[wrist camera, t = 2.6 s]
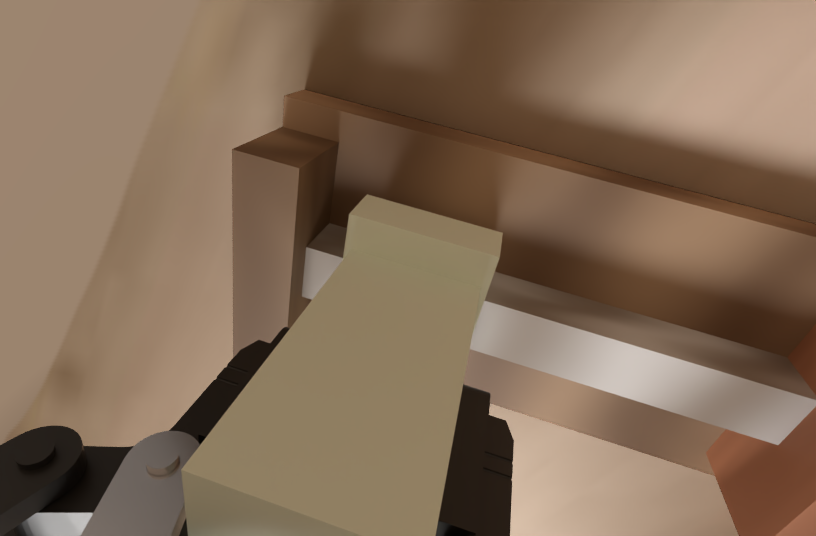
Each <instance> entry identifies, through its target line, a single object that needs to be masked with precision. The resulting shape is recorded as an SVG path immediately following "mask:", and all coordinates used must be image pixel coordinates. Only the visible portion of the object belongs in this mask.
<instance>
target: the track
mask: <svg viewBox="0 0 816 536" xmlns="http://www.w3.org/2000/svg"><path fill="white" fill-rule="evenodd" d="M367 194H368V195H371V196H375V197H378V198H382V199H385V200H389V201H392V202H396V203H399V204H403V205H406V206H410V207H413V208H417V209H421V210H424V211H428V212H431V213H435V214H438V215H442V216H445V217H449V218H452V219H456V220H459V221H463V222H466V223H470V224H473V225H477V226H480V227H484V228H487V229H491V230H495V231H498V232H502V233H503V236H502V244H501V252H500V258H499V261H498V264H497V267H496V269H495V272H494V275H493V278H492V281H491V284H490V286H489V289H488V292H487V295H486V298H485V301H484V303H483V306H482V309H481V312H480V315H479V318H478V320H477V323H476V326H475V329H474V332H473V335H472V339H471V344H470V350H469V355H468V361H467V366H466V372H465V377H464V383H463V384H464V385H467V386H470V387H473V388H477V389H480V390H483V391H486V392H489V393H490V403H491V404H494V405H497V406H500V407H503V408H506V409H510V410H513V411H516V412H519V413H522V414H525V415H528V416H531V417H534V418H537V419H540V420H544V421H547V422H550V423H553V424H556V425H559V426H562V427H565V428H568V429H571V430H574V431H578V432H581V433H584V434H587V435H590V436H593V437H596V438H599V439H602V440H605V441H608V442H612V443H615V444H618V445H621V446H624V447H627V448H630V449H633V450H636V451H639V452H642V453H646V454H649V455H652V456H655V457H658V458H661V459H664V460H667V461H670V462H673V463H677V464H680V465H683V466H686V467H689V468H692V469H695V470H698V471H701V472H704V473H707V474H711V475H714V476H715V477H716V480H717V482H718V484H719V487H720V489H721V492H722V494H723V497H724V499H725V502H726V504H727V507H728V509H729V512H730V514H731V517H732V519H733V522H734V524H735V527H736V529H737V532H738V534H739V536H816V224H813V223H809V222H806V221H802V220H798V219H794V218H790V217H787V216H783V215H779V214H775V213H771V212H768V211H764V210H760V209H756V208H752V207H749V206H745V205H741V204H737V203H733V202H730V201H726V200H722V199H718V198H714V197H711V196H707V195H703V194H699V193H695V192H692V191H688V190H684V189H680V188H676V187H673V186H669V185H665V184H661V183H657V182H654V181H650V180H646V179H642V178H638V177H635V176H631V175H627V174H623V173H619V172H616V171H612V170H608V169H604V168H600V167H597V166H593V165H589V164H585V163H581V162H578V161H574V160H570V159H566V158H562V157H559V156H555V155H551V154H547V153H543V152H540V151H536V150H532V149H528V148H524V147H521V146H517V145H513V144H509V143H505V142H502V141H498V140H494V139H490V138H486V137H483V136H479V135H475V134H471V133H467V132H464V131H460V130H456V129H452V128H448V127H445V126H441V125H437V124H433V123H429V122H426V121H422V120H418V119H414V118H410V117H407V116H403V115H399V114H395V113H391V112H388V111H384V110H380V109H376V108H372V107H369V106H365V105H361V104H357V103H353V102H350V101H346V100H342V99H338V98H334V97H331V96H327V95H323V94H319V93H315V92H312V91H308V90H301V91H298V92H295V93H292V94H289V95H286V96H284V111H283V127H281V128H279V129H277V130H275V131H272V132H270V133H268V134H266V135H263V136H261V137H259V138H257V139H254V140H252V141H250V142H248V143H245V144H243V145H241V146H239V147H236V148H234V149H232V210H233V358H234V357H235V355H236V354H237V353H238V352H239V351H240V350H241V349H243V348H245V347H246V346H248V345H250V344H252V343H254V342H255V341H257V340H261V341H264V342H267V343H271V342H272V341H273V339H274V338H275V337H276V336H277V334H278V333H279V332H280V331H281V330H282V329H283V328H284V327H288V328H291V327H292V325H293V324H294V323H295V322H296V320H297V319H298V318H299V316H300V315H301V314H302V312H303V311H304V310H305V309H306V307H307V306H308V305H309V303H310V302H311V301H312V299H313V298H314V297H315V296H316V294H317V293H318V292H319V290H320V289H321V288H322V287H323V285H324V284H325V283H326V281H327V280H328V279H329V277H330V276H331V275H332V274H333V272H334V271H335V270H336V268H337V267H338V266H339V264H340V263H341V262H342V261H343V254H344V247H345V240H346V233H347V226H348V219H349V213H350V212H351V211H352V210H353V209H354V208H355V207H356V206H357V205H358V204H359V203H360V201H361V200H362V199H363V198H364V197H365V196H366V195H367Z"/></svg>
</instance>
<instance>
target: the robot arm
mask: <svg viewBox="0 0 816 536" xmlns="http://www.w3.org/2000/svg"><path fill="white" fill-rule="evenodd" d="M289 329H290V328H288V327H284V328H283V329H282V330H281V331H280V332H279V333H278V334H277V336H276V337H275V338H274V339H273V341H272V342H271V343H267V342H264V341H261V340H257V341H255V342H254V343H252V344H250V345H248V346H246V347H245V348H243V349H241V350H240V351H239V352H238V353H237V354H236V355H235V357H234V358H233V359H232V360H231V361H230V362H229V363H228V365H227V367H226V368H224V369H223V370H222V372H221V373H220V374H219V375H218V376H217V379H216V380H214V381H213V382H212V383H211V384H210V385H209V386H208V388H207V389H206V390H205V391H204V392H203V393H202V394H201V396H200V397H199V398H198V399H197V400H196V401H195V403H194V404H193V405H192V406H191V407H190V408H189V409H188V411H187V412H186V413H185V414H184V415H183V416H182V417H181V419H180V420H179V421H178V422H177V423H176V424H175V425H174V426H173V427H172V428H171V429H170V430H169V431H164V432H160V433H156V434H153V435H151V436H149V437H147V438H145V439H143V440H142V441H140V442H139V443H137V444H136V445H135V446H132V447H96V446H83V443H82V440H81V437H80V436H79V434H78V433H77V432H76V431H74V430H73V429H70V428H68V427H64V426H46V427H40V428H36V429H33V430H30V431H27V432H25V433H23V434H21V435H19V436H17V437H15V438H13V439H11V440H9V441H7V442H6V443H4V444H2V445H0V536H188V531H187V521H186V512H185V502H184V493H183V483H182V473H181V469H182V468H183V467H184V465H185V464H186V463H187V462H188V460H189V459H190V458H191V456H192V455H193V454H194V452H195V451H196V450H197V449H198V447H199V446H200V445H201V443H202V442H203V441H204V440H205V438H206V437H207V436H208V434H209V433H210V432H211V430H212V429H213V428H214V427H215V425H216V424H217V423H218V421H219V420H220V419H221V417H222V416H223V415H224V414H225V412H226V411H227V410H228V408H229V407H230V406H231V405H232V403H233V402H234V401H235V399H236V398H237V397H238V395H239V394H240V393H241V392H242V390H243V389H244V388H245V386H246V385H247V384H248V382H249V381H250V380H251V379H252V377H253V376H254V375H255V373H256V372H257V371H258V370H259V368H260V367H261V366H262V364H263V363H264V362H265V360H266V359H267V358H268V357H269V355H270V354H271V353H272V351H273V350H274V349H275V347H276V346H277V345H278V344H279V342H280V341H281V340H282V338H283V337H284V336H285V334H286V333H287V332H288V331H289ZM489 406H490V393H489V392H486V391H483V390H480V389H477V388H473V387H470V386H467V385H464V384H463V388H462V394H461V399H460V405H459V410H458V415H457V421H456V426H455V432H454V437H453V443H452V448H451V454H450V459H449V465H448V470H447V475H446V481H445V486H444V492H443V497H442V503H441V508H440V514H439V519H438V525H437V530H436V536H510V518H511V493H512V481H511V479H512V468H513V464H512V461H513V443H514V440H513V438H512V435H511V433H510V430H509V427H508V425H507V422H506V421H505V420H502V419H499V418H496V417H493V416H490V415H489Z"/></svg>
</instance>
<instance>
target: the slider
mask: <svg viewBox="0 0 816 536" xmlns="http://www.w3.org/2000/svg"><path fill="white" fill-rule="evenodd" d="M502 236H503V233H502V232H498V231H495V230H491V229H487V228H484V227H480V226H477V225H473V224H470V223H466V222H463V221H459V220H456V219H452V218H449V217H445V216H442V215H438V214H435V213H431V212H428V211H424V210H421V209H417V208H413V207H410V206H406V205H403V204H399V203H396V202H392V201H389V200H385V199H382V198H378V197H375V196H371V195H368V194H367V195H366V196H365V197H364V198H363V199H362V200H361V201H360V203H359V204H358V205H357V206H356V207H355V208H354V209H353V210H352V211H351V212H350V213H349V219H348V226H347V233H346V240H345V247H344V254H343V261H342V262H341V263H340V264H339V266H338V267H337V268H336V270H335V271H334V272H333V274H332V275H331V276H330V277H329V279H328V280H327V281H326V283H325V284H324V285H323V287H322V288H321V289H320V290H319V292H318V293H317V294H316V296H315V297H314V298H313V299H312V301H311V302H310V303H309V305H308V306H307V307H306V309H305V310H304V311H303V312H302V314H301V315H300V316H299V318H298V319H297V320H296V322H295V323H294V324H293V325H292V327H291V328H290V329H289V331H288V332H287V333H286V334H285V336H284V337H283V338H282V340H281V341H280V342H279V344H278V345H277V346H276V347H275V349H274V350H273V351H272V353H271V354H270V355H269V357H268V358H267V359H266V360H265V362H264V363H263V364H262V366H261V367H260V368H259V370H258V371H257V372H256V373H255V375H254V376H253V377H252V379H251V380H250V381H249V382H248V384H247V385H246V386H245V388H244V389H243V390H242V392H241V393H240V394H239V395H238V397H237V398H236V399H235V401H234V402H233V403H232V405H231V406H230V407H229V408H228V410H227V411H226V412H225V414H224V415H223V416H222V417H221V419H220V420H219V421H218V423H217V424H216V425H215V427H214V428H213V429H212V430H211V432H210V433H209V434H208V436H207V437H206V438H205V440H204V441H203V442H202V443H201V445H200V446H199V447H198V449H197V450H196V451H195V452H194V454H193V455H192V456H191V458H190V459H189V460H188V462H187V463H186V464H185V465H184V467H183V468H182V469H181V473H182V483H183V493H184V502H185V512H186V521H187V531H188V536H436V530H437V525H438V519H439V514H440V508H441V503H442V497H443V492H444V486H445V481H446V475H447V470H448V465H449V459H450V454H451V448H452V443H453V437H454V432H455V426H456V421H457V415H458V410H459V405H460V399H461V394H462V388H463V383H464V377H465V372H466V366H467V361H468V355H469V350H470V344H471V339H472V335H473V332H474V329H475V326H476V323H477V320H478V318H479V315H480V312H481V309H482V306H483V303H484V301H485V298H486V295H487V292H488V289H489V286H490V284H491V281H492V278H493V275H494V272H495V269H496V267H497V264H498V261H499V258H500V252H501V244H502Z"/></svg>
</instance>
